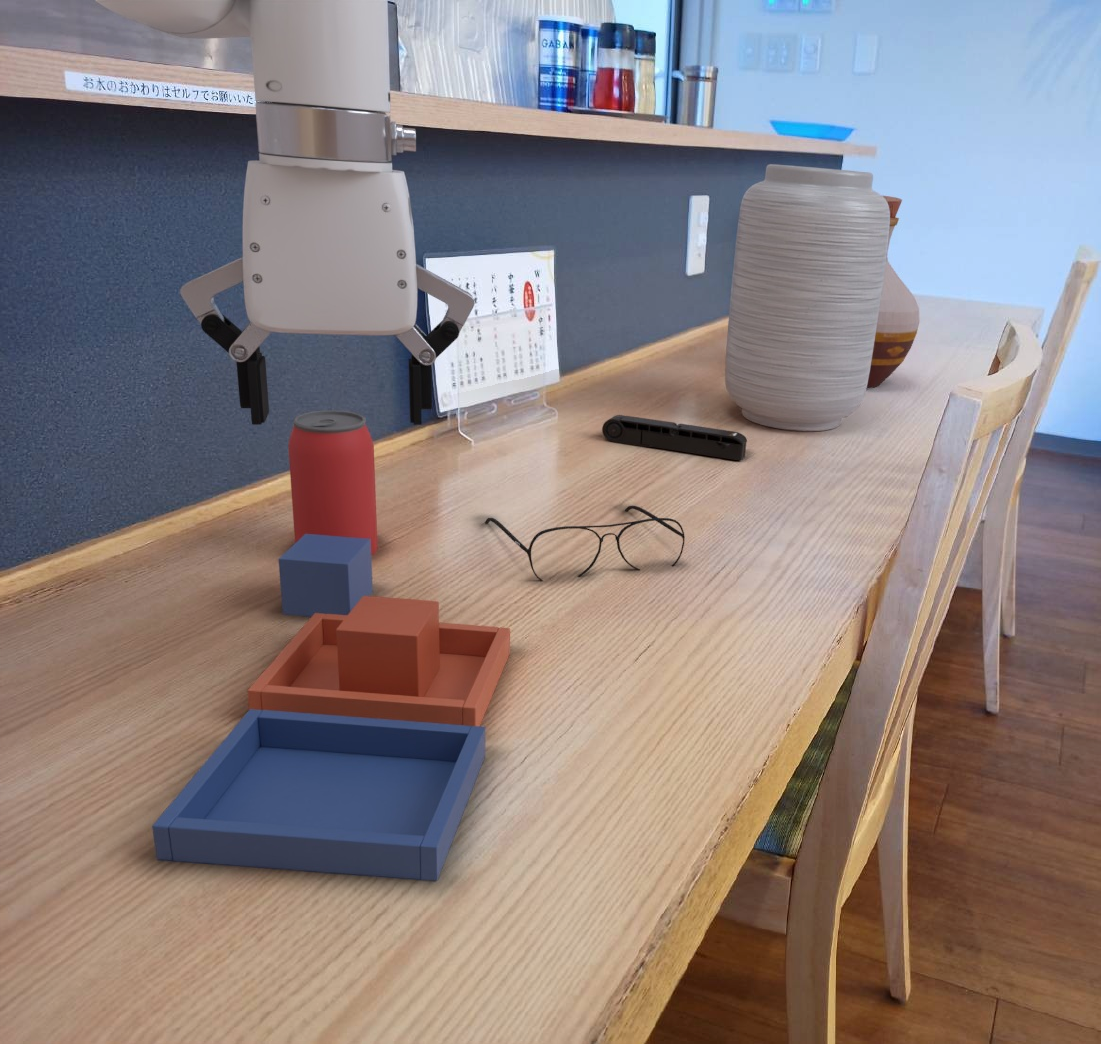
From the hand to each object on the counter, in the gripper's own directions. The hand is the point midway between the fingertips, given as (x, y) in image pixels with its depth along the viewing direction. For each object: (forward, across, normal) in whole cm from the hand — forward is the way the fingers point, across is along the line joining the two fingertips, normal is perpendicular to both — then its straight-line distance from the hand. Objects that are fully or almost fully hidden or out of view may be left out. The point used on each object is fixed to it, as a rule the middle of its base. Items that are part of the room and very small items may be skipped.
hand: (339, 419), depth 65 cm
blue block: (+16, +2, -5) cm, 17 cm away
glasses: (+16, -19, -15) cm, 30 cm away
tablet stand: (+16, -36, -46) cm, 61 cm away
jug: (+16, -78, -84) cm, 116 cm away
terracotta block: (+16, -3, +8) cm, 18 cm away
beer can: (+16, +2, -16) cm, 23 cm away
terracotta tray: (+16, -3, +8) cm, 18 cm away
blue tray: (+16, 0, +20) cm, 26 cm away
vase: (+16, -57, -60) cm, 85 cm away
